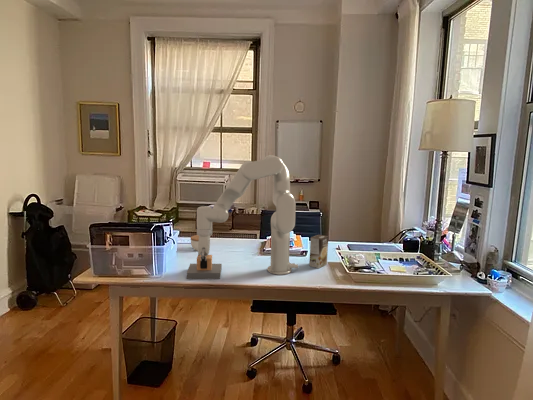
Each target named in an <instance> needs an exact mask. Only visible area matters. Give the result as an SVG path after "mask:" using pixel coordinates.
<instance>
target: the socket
mask: <svg viewBox="0 0 533 400" xmlns="http://www.w3.org/2000/svg"><path fill="white" fill-rule="evenodd" d="M222 266H223V265H222V263H212V269H211V270H197V263H190V264H189V266H188V268H187V271H186V280H221V274H222V270H223V269H222Z"/></svg>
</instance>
